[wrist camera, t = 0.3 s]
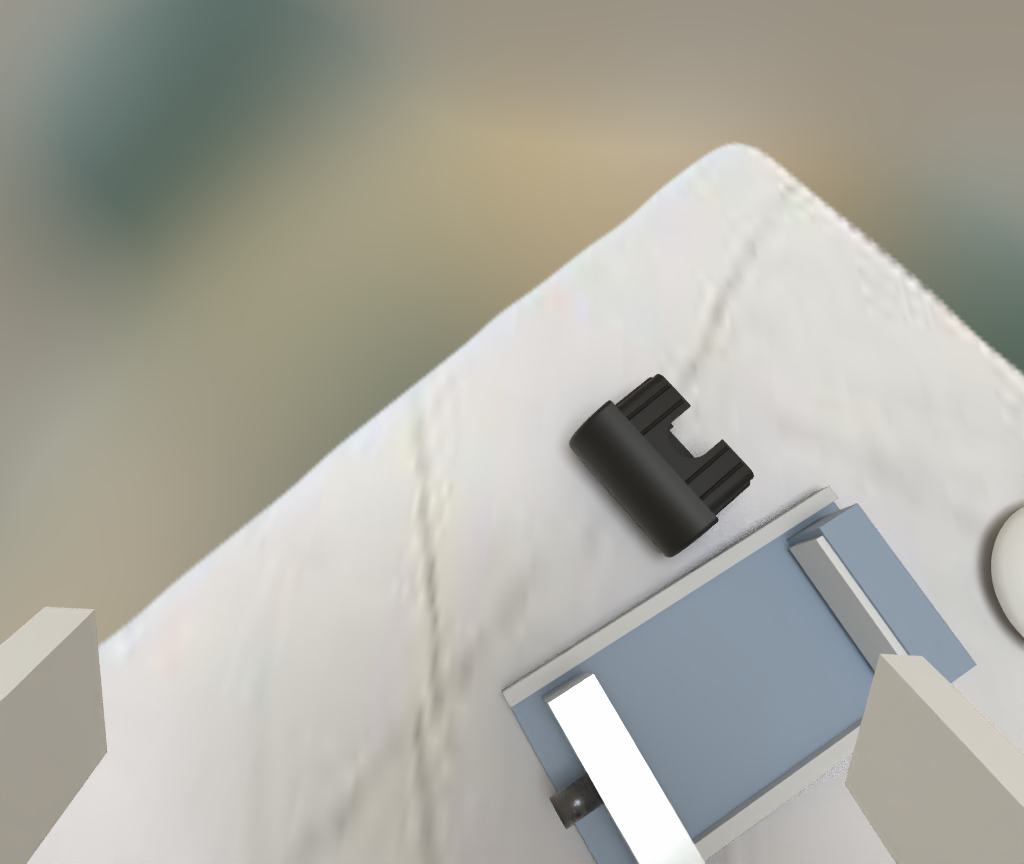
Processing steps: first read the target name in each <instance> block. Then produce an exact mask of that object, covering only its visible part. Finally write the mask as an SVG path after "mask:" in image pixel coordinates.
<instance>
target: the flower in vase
mask: <svg viewBox="0 0 1024 864" xmlns="http://www.w3.org/2000/svg"><path fill="white" fill-rule="evenodd" d="M991 574H992V582H993V586H994V590H995V593H996V596H997V598H998V601H999V603H1000V605H1001V607H1002V609H1003V611H1004V613H1005V615H1006V616H1007V618H1008V619H1009V621H1010V622H1011V624H1012V625H1013V626H1014V627H1015V629H1016V630H1017V631H1018V632H1019V633H1020V634H1021V635H1022V637H1023V638H1024V507H1022V508H1020V509H1019V510H1017V511H1016V512H1015V513H1014V514H1012V515H1011V516H1010V517H1009V518H1008V520H1007V521H1006V522H1005V523H1004V525H1003V526H1002V528H1001V529H1000V531H999V533H998V536H997V538H996V541H995V544H994V548H993V552H992V560H991Z"/></svg>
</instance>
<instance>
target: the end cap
mask: <svg viewBox="0 0 1024 864" xmlns="http://www.w3.org/2000/svg"><path fill="white" fill-rule="evenodd" d="M690 406H691V405H690V404H689V403H688V402H687V401H686V400H685V399H684V398H683V397H682V396H681V395H680V394H679V392H678V391H677V390H676V389H675V388H674V387H673V386H672V385H671V384H670V383H669V382H668V381H667V380H666V379H665V378H664V377H663V376H662V375H660V374H657V375H655V376H654V377H653V378H652V377H650V378H648V379H647V380H646V381H644V382H643V383H642V384H641V385H639V386H638V387H637V388H636V389H635V390H633V391H632V392H631V393H630V394H628V395H627V396H626V397H625V398H623V399H622V400H621V401H620V402H618V403H617V404H616V405H614V403H613V402H612V401H610V400H609V401H608V402H606V403H605V404H604V405H603V406H602V407H600V408H599V409H598V410H597V411H596V412H595V413H594V414H593V415H592V416H591V417H589V418H588V419H587V420H586V421H585V422H584V423H583V425H582V426H581V427H580V428H579V429H578V430H577V431H576V432H575V434H574V435H573V436H572V438H571V440H570V443H569V445H570V447H571V448H572V450H573V451H574V452H575V453H576V454H577V455H578V456H579V457H580V459H581V460H582V461H583V462H584V463H585V464H586V465H587V467H588V468H589V469H590V470H591V471H592V472H593V473H594V475H595V476H596V477H597V478H598V479H599V480H600V481H601V483H602V484H603V485H604V486H605V487H606V488H607V489H608V491H609V492H610V493H611V494H612V495H613V496H614V497H615V499H616V500H617V501H618V502H619V503H620V504H621V505H622V507H623V508H624V509H625V510H626V511H627V512H628V513H629V515H630V516H631V517H632V518H633V519H634V520H635V521H636V523H637V524H638V525H639V526H640V527H641V528H642V529H643V531H644V532H645V533H646V534H647V535H648V536H649V537H650V539H651V540H652V541H653V542H654V543H655V544H656V545H657V547H658V548H659V549H660V550H661V551H662V552H663V553H664V555H665V556H666V557H673V556H675V555H676V554H678V553H679V552H681V551H682V550H684V549H685V548H686V547H688V546H689V545H690V544H692V543H693V542H694V541H695V540H697V539H698V538H699V537H700V536H702V535H703V534H704V533H705V532H706V531H708V530H709V529H710V528H711V527H712V526H713V525H715V524H716V523H717V522H718V518H717V517H716V515H717V514H718V513H719V512H720V511H721V510H722V509H724V508H725V507H726V506H727V505H728V504H729V503H730V502H731V501H733V500H734V499H735V498H736V497H737V496H738V495H739V494H740V493H742V492H743V491H744V490H745V489H746V488H747V487H748V486H749V485H750V480H751V479H753V477H754V474H753V472H752V470H751V469H750V468H749V467H748V466H747V465H746V464H745V463H744V462H743V461H742V460H741V458H740V457H739V456H738V455H737V454H736V453H735V452H734V451H733V450H732V449H731V448H730V447H729V446H728V445H727V444H726V442H725V441H724V440H723V439H722V440H721V441H720V442H719V443H718V444H716V445H715V446H714V447H713V448H712V449H711V450H709V451H708V452H707V453H706V454H704V455H703V456H701V457H697V458H694V457H693V456H692V454H691V453H690V452H689V451H688V450H687V449H686V448H685V447H684V446H683V445H682V444H681V442H680V441H679V440H678V439H677V438H676V437H675V436H674V435H673V434H672V433H671V432H670V431H669V430H670V429H672V428H673V425H672V424H671V423H672V422H673V421H674V420H675V419H676V418H677V417H679V416H680V415H681V414H682V413H684V412H685V411H686V410H687V409H688V408H689V407H690Z"/></svg>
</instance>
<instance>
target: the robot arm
mask: <svg viewBox="0 0 1024 864" xmlns="http://www.w3.org/2000/svg"><path fill="white" fill-rule="evenodd" d="M106 753H107V744H106V733H105V722H104V710H103V699H102V687H101V676H100V664H99V653H98V642H97V630H96V619H95V610H94V609H77V608H76V609H75V608H59V607H58V608H57V607H44V608H43V609H42V610H41V611H40V612H39V613H37V614H36V615H35V616H34V617H33V618H32V619H30V620H29V621H28V622H27V623H26V624H25V625H24V626H23V627H21V628H20V629H19V630H18V631H16V632H15V633H14V634H13V635H12V636H11V637H10V638H8V639H7V640H6V641H5V642H4V643H3V644H1V645H0V864H26V863H27V862H28V861H29V859H30V858H31V857H32V855H33V854H34V852H35V851H36V850H37V848H38V847H39V845H40V844H41V843H42V841H43V840H44V839H45V837H46V836H47V834H48V833H49V832H50V830H51V829H52V827H53V826H54V825H55V823H56V822H57V821H58V819H59V818H60V816H61V815H62V814H63V812H64V811H65V809H66V808H67V807H68V805H69V804H70V803H71V801H72V800H73V798H74V797H75V796H76V794H77V793H78V791H79V790H80V789H81V787H82V786H83V785H84V783H85V782H86V780H87V779H88V778H89V776H90V775H91V773H92V772H93V771H94V769H95V768H96V767H97V765H98V764H99V762H100V761H101V760H102V758H103V757H104V755H105V754H106ZM845 786H846V787H847V789H848V790H849V792H850V793H851V795H852V796H853V798H854V799H855V801H856V802H857V804H858V805H859V807H860V809H861V810H862V812H863V813H864V815H865V816H866V818H867V819H868V821H869V822H870V824H871V825H872V827H873V829H874V830H875V832H876V833H877V835H878V836H879V838H880V839H881V841H882V842H883V844H884V845H885V847H886V848H887V850H888V852H889V853H890V855H891V856H892V858H893V859H894V861H895V862H896V864H1024V754H1023V753H1022V752H1021V751H1020V750H1019V749H1018V748H1017V747H1016V746H1015V745H1013V744H1012V743H1011V742H1010V741H1009V740H1008V739H1007V738H1006V737H1005V736H1004V735H1003V734H1002V733H1001V732H1000V731H999V730H998V729H997V728H996V727H995V726H994V725H993V724H992V723H991V722H990V721H989V720H988V719H987V718H986V717H985V716H984V715H983V714H982V713H981V712H979V711H978V710H977V709H976V708H975V707H974V706H973V705H972V704H971V703H970V702H969V701H968V700H967V699H966V698H965V697H964V696H963V695H962V694H961V693H960V692H959V691H958V690H957V689H956V688H955V687H954V686H953V685H952V684H951V683H950V682H949V681H948V680H947V679H945V678H944V677H943V676H942V675H941V674H940V673H939V672H938V671H937V670H936V669H935V668H934V667H933V666H932V665H931V664H930V663H929V662H928V661H927V660H926V659H925V658H924V657H923V656H912V655H894V654H880V655H879V659H878V663H877V666H876V670H875V674H874V677H873V681H872V685H871V688H870V692H869V696H868V700H867V703H866V707H865V711H864V714H863V718H862V722H861V725H860V729H859V733H858V737H857V740H856V744H855V748H854V751H853V755H852V759H851V762H850V766H849V770H848V774H847V777H846V781H845Z"/></svg>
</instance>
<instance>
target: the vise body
mask: <svg viewBox="0 0 1024 864" xmlns="http://www.w3.org/2000/svg"><path fill="white" fill-rule="evenodd" d="M836 499H838V497H837V495H836V494H835V493H834V491H833V490H832V488H831V487H830V486H828V487H826V488H824V489H821V490H819V491H817V492H815V493H814V494H812V495H811V496H809V497H807V498H806V499H804V500H803V501H801V502H800V503H798V504H796V505H795V506H793V507H792V508H790V509H789V510H787V511H785V512H784V513H782V514H781V515H779V516H777V517H776V518H774V519H773V520H771V521H770V522H768V523H766V524H765V525H763V526H762V527H760V528H758V529H757V530H755V531H754V532H752V533H751V534H749V535H747V536H746V537H744V538H743V539H741V540H739V541H738V542H736V543H735V544H733V545H732V546H730V547H728V548H727V549H725V550H724V551H722V552H721V553H719V554H717V555H716V556H714V557H713V558H711V559H709V560H708V561H706V562H705V563H703V564H702V565H700V566H698V567H697V568H695V569H694V570H692V571H690V572H689V573H687V574H686V575H684V576H683V577H681V578H679V579H678V580H676V581H675V582H673V583H671V584H670V585H668V586H667V587H665V588H664V589H662V590H660V591H659V592H657V593H656V594H654V595H653V596H651V597H649V598H648V599H646V600H645V601H643V602H641V603H640V604H638V605H637V606H635V607H634V608H632V609H630V610H629V611H627V612H626V613H624V614H622V615H621V616H619V617H618V618H616V619H615V620H613V621H611V622H610V623H608V624H607V625H605V626H603V627H602V628H600V629H599V630H597V631H596V632H594V633H592V634H591V635H589V636H588V637H586V638H585V639H583V640H581V641H580V642H578V643H577V644H575V645H573V646H572V647H570V648H569V649H567V650H566V651H564V652H562V653H561V654H559V655H558V656H556V657H554V658H553V659H551V660H550V661H548V662H547V663H545V664H543V665H542V666H540V667H539V668H537V669H535V670H534V671H532V672H531V673H529V674H528V675H526V676H524V677H523V678H521V679H520V680H518V681H517V682H515V683H513V684H512V685H510V686H509V687H507V688H505V689H504V690H502V693H503V695H504V697H505V699H506V701H507V702H508V704H509V706H510V708H511V709H512V711H513V713H514V715H515V716H516V718H517V720H518V722H519V724H520V726H521V727H522V729H523V731H524V733H525V735H526V736H527V738H528V740H529V742H530V744H531V745H532V747H533V749H534V751H535V753H536V754H537V756H538V758H539V760H540V762H541V764H542V765H543V767H544V769H545V771H546V773H547V774H548V776H549V778H550V780H551V782H552V783H553V785H554V787H555V789H556V791H557V792H559V791H561V790H562V789H564V788H565V787H566V786H568V785H569V784H571V783H572V782H574V781H575V780H577V779H578V778H580V777H581V776H583V775H584V774H585V772H584V771H583V769H582V767H581V765H580V763H579V762H578V760H577V758H576V756H575V755H574V753H573V751H572V749H571V748H570V746H569V744H568V742H567V740H566V739H565V737H564V735H563V733H562V732H561V730H560V728H559V726H558V725H557V723H556V721H555V719H554V718H553V716H552V714H551V712H550V710H549V709H548V707H547V705H546V703H545V702H544V700H543V698H542V696H544V695H546V694H547V693H549V692H550V691H552V690H553V689H555V688H556V687H558V686H560V685H561V684H563V683H564V682H566V681H567V680H569V679H570V678H572V677H574V676H575V675H577V674H578V673H580V672H581V671H584V672H588V673H591V674H594V676H595V677H596V679H597V681H598V683H599V684H600V686H601V688H602V689H603V691H604V693H605V694H606V696H607V698H608V699H609V701H610V703H611V705H612V706H613V708H614V710H615V711H616V713H617V715H618V716H619V718H620V720H621V721H622V723H623V725H624V727H625V728H626V730H627V732H628V733H629V735H630V737H631V738H632V740H633V742H634V743H635V745H636V747H637V749H638V750H639V752H640V754H641V755H642V757H643V759H644V760H645V762H646V764H647V765H648V767H649V769H650V771H651V772H652V774H653V776H654V777H655V779H656V781H657V782H658V784H659V786H660V787H661V789H662V791H663V793H664V794H665V796H666V798H667V799H668V801H669V803H670V804H671V806H672V808H673V809H674V811H675V813H676V815H677V816H678V818H679V820H680V821H681V823H682V825H683V826H684V828H685V830H686V831H687V833H688V835H689V837H690V838H691V840H692V842H693V843H694V845H695V847H696V848H697V850H698V852H699V853H700V855H701V857H702V859H703V860H704V861H705V860H707V859H708V858H709V857H711V856H712V855H713V854H715V853H716V852H718V851H719V850H720V849H722V848H723V847H725V846H726V845H727V844H729V843H730V842H731V841H733V840H734V839H736V838H737V837H738V836H740V835H741V834H742V833H744V832H745V831H747V830H748V829H749V828H751V827H752V826H753V825H755V824H756V823H758V822H759V821H760V820H762V819H763V818H764V817H766V816H767V815H769V814H770V813H771V812H773V811H774V810H775V809H777V808H778V807H780V806H781V805H782V804H784V803H785V802H786V801H788V800H789V799H791V798H792V797H793V796H795V795H796V794H798V793H799V792H800V791H802V790H803V789H804V788H806V787H807V786H809V785H810V784H811V783H813V782H814V781H815V780H817V779H818V778H820V777H821V776H822V775H824V774H825V773H826V772H828V771H829V770H831V769H832V768H833V767H835V766H836V765H837V764H839V763H840V762H842V761H843V760H844V759H846V758H847V757H848V756H850V755H851V754H853V751H854V748H855V744H856V740H857V737H858V733H859V729H860V725H861V722H862V718H863V714H864V711H865V707H866V703H867V700H868V696H869V692H870V688H871V685H872V681H873V677H874V674H875V670H876V666H877V663H878V659H879V655H880V654H894V655H912V656H923V657H924V658H925V659H926V660H927V661H928V662H929V663H930V664H931V665H932V666H933V667H934V668H935V669H936V670H937V671H938V672H939V673H940V674H941V675H942V676H943V677H944V678H945V679H947V680H948V681H949V682H950V683H952V682H953V681H955V680H956V679H958V678H959V677H960V676H962V675H963V674H964V673H966V672H967V671H969V670H970V669H971V668H973V667H974V666H975V665H977V664H976V663H975V662H974V660H973V659H972V658H971V656H970V655H969V654H968V652H967V651H966V650H965V648H964V647H963V646H962V644H961V643H960V641H959V640H958V639H957V637H956V636H955V635H954V633H953V632H952V631H951V629H950V628H949V627H948V625H947V624H946V622H945V621H944V620H943V618H942V617H941V616H940V614H939V613H938V612H937V610H936V609H935V608H934V606H933V605H932V604H931V602H930V601H929V599H928V598H927V597H926V595H925V594H924V593H923V591H922V590H921V589H920V587H919V586H918V585H917V583H916V582H915V580H914V579H913V578H912V576H911V575H910V574H909V572H908V571H907V570H906V568H905V567H904V566H903V564H902V563H901V561H900V560H899V559H898V557H897V556H896V555H895V553H894V552H893V551H892V549H891V548H890V547H889V545H888V544H887V543H886V541H885V540H884V538H883V537H882V536H881V534H880V533H879V532H878V530H877V529H876V528H875V526H874V525H873V524H872V522H871V521H870V519H869V518H868V517H867V515H866V514H865V513H864V511H863V510H862V509H861V507H860V506H859V505H858V503H857V504H854V505H852V506H849V507H847V508H844V509H841V510H840V509H839V508H838V507H837V505H836V504H835V503H834V501H835V500H836ZM575 825H576V827H577V829H578V830H579V832H580V834H581V836H582V838H583V840H584V841H585V843H586V845H587V847H588V849H589V850H590V852H591V854H592V856H593V858H594V859H595V861H596V863H597V864H636V862H635V861H634V859H633V857H632V855H631V853H630V852H629V850H628V848H627V846H626V845H625V843H624V841H623V839H622V838H621V836H620V834H619V832H618V831H617V829H616V827H615V825H614V823H613V822H612V820H611V818H610V816H609V815H608V813H607V811H606V809H605V808H604V806H603V805H601V806H600V807H598V808H597V809H595V810H594V811H592V812H591V813H589V814H588V815H587V816H585V817H584V818H582V819H581V820H579V821H578V822H576V823H575Z"/></svg>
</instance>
